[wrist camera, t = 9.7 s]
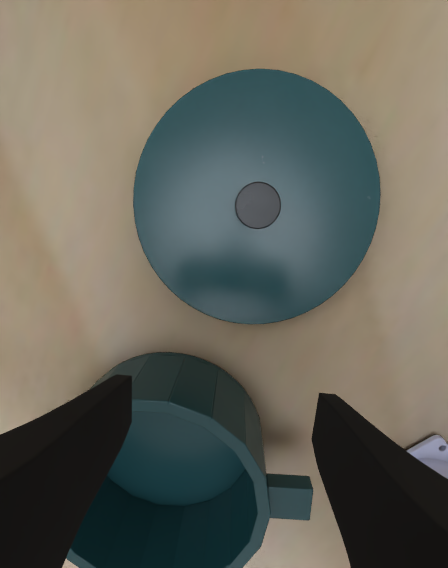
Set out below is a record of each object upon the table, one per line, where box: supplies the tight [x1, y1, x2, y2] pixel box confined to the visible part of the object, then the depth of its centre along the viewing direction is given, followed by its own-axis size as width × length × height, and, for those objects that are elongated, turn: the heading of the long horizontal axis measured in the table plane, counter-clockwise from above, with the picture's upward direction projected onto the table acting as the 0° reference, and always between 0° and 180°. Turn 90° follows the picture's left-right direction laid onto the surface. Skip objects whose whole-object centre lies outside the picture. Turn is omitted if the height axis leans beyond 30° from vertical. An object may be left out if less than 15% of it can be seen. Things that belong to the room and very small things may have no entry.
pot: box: [66, 352, 313, 568], centre depth 20 cm, size 15×20×6 cm
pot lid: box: [133, 69, 380, 324], centre depth 17 cm, size 16×16×4 cm
